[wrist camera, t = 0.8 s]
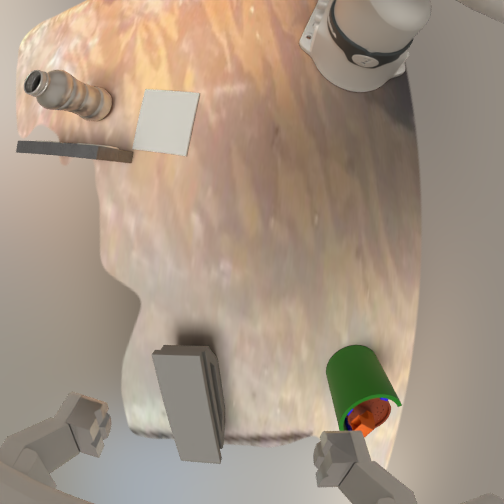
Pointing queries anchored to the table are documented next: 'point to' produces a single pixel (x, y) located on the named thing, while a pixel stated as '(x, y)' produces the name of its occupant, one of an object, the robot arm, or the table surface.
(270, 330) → the table surface
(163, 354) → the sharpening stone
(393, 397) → the motor
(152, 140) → the rubber pad
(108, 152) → the panel
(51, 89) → the plastic bottle
